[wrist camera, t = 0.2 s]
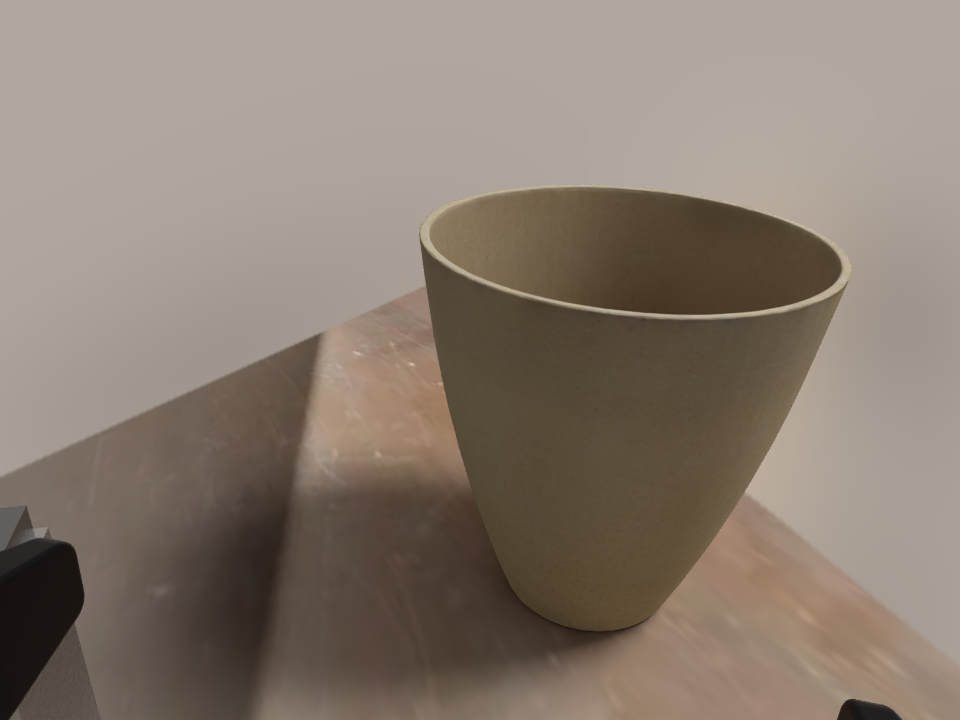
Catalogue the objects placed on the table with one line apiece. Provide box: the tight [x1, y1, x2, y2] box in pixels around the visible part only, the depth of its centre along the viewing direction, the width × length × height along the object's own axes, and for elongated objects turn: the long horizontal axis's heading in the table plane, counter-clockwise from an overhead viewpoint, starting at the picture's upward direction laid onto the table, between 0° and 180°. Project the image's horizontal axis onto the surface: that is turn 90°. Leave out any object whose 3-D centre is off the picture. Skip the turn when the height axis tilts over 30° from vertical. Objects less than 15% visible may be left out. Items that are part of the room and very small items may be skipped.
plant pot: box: [419, 185, 851, 631], centre depth 30 cm, size 15×15×16 cm
